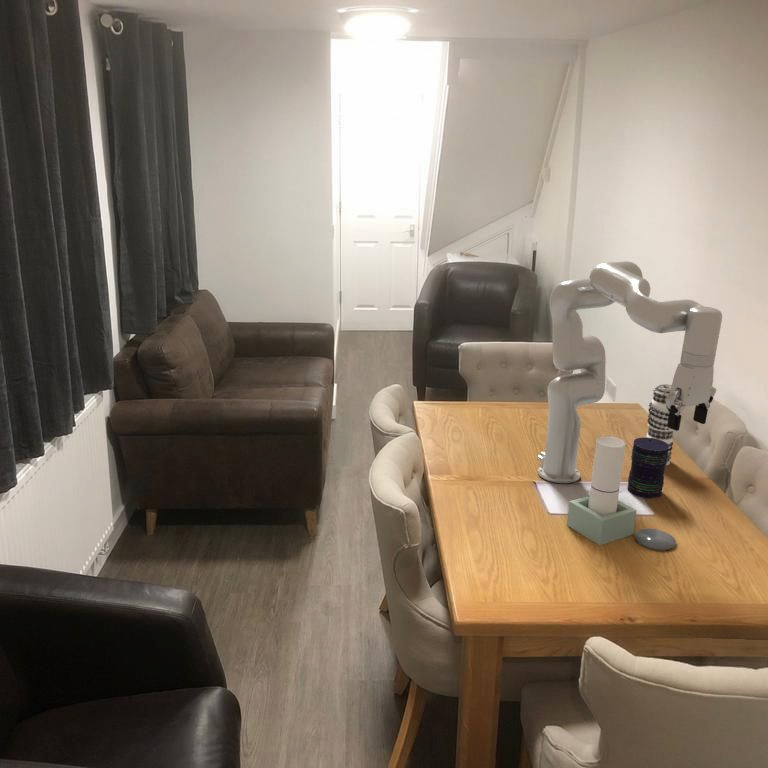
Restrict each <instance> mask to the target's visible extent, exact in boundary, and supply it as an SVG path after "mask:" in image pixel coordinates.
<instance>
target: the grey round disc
mask: <svg viewBox="0 0 768 768" xmlns="http://www.w3.org/2000/svg"><path fill="white" fill-rule="evenodd" d="M634 540H635V542H636V543H637V544H638V545H640V546H641V547H643V548H646V549H649V550H652V551H656V552H659V551H660V552H666V551H667V552H668V551H671V550H674V548H676V544H677V540H676V538H675V537H674V536H673V535H672V534H670V533H668V532H666V531H663V530H660V529H656V528H655V529H654V528H642V529H639V530H636V532H635V533H634Z"/></svg>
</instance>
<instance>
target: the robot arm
mask: <svg viewBox="0 0 768 768" xmlns="http://www.w3.org/2000/svg"><path fill="white" fill-rule="evenodd" d="M650 294H651V284H650V282H649V281H648V280H647V279H645V278H644V276H643V272H642V270H641V268H640V267H639V266H638V264H636V263H634V262H632V261H627V260H625V261H609V262H602V263H600V264H598V265H596V266H595V267H594V268H593V269H592V270H591V272H590V274H589V277H588V278H579V279H571V280H565V281H563V282H560V283H558V284H557V285H556V286H554V288H553V289H552V291H551V293H550V296H549V303H548V304H549V311H550V316H551V322H552V324H551V325H552V331H551V332H552V362H553V364H554V365H553V366H554V367H555V368H556V369H557V370H559V371H563V372H564V371H577V370H580V372H578V373H577V372H576V373H569V374H564V375H559V376H557V377H555V378H554V379H552V380H551V381H550V382H549V384H548V386H547V401H548V417H547V418H548V419H547V428H546V429H547V431H546V439H545V448H544V449H545V450H544V451H541V453H539V454H538V456H536V457H537V458H536V459H537V460H538V461H540V462H541V465H540V466H539V467H538V468H537V474H538V475H539V477H540V478H542V479H544V480H546V481H549V482H551V483H558V484H572V483H575V482H577V481H579V480H580V479H581V472H580V471H579V470H578V468H577V459H578V450H579V443H580V442H579V441H580V433H581V417H580V415H579V413H578V409H577V407H581V406H585V405H590V404H591V405H592V404H595V403H598V402H599V401H602V399H603V397H604V395H605V391H606V365H607V364H606V363H607V362H606V350H605V347H604V344H603V342H602V341H601V339H599V338H598V337H597V336H594V335H583V334H584V333H583V328H584V327H583V321H582V319H581V317H580V314H579V313H578V312H577V311H578V310H586V309H587V310H589V309H600V308H605V307H608V306H610V305H613V304H615V303H617V304H619V305H621V306H623V307H624V308H625V311H626V313H627V315H628V316H629V318H630V320H631V321H632V322H633V323H635V324H637V325H639V326H640V327H642V328H644V329H646V330H648V331H650V332H653V333H657V334H666V333H674V332H684V336H683V337H684V338H683V342H682V349H681V355H680V362H679V363H678V364H677V366H676V369H675V372H674V375H673V379H672V382H671V385H672V386H671V391H670V395H669V396H668V397H666V399H665V401H666V408H667V409H668V412H669V416H668V422H667V427H668V428H671V429H673V430H674V431H675V432H677V431H679V430H680V428H681V421H682V415H681V413H682V412H683V410H684V409H685V408H687V407H692V406H695V407H694V412H693V421H694V422H696V423H699V424H702V425H705V424H706V421H707V416H708V413H709V412H708V411H709V409H710V407H711V404H712V401H714V396H715V394H716V393H717V388H715V386H713V383H714V371H715V370H714V368H715V367H714V366H715V361H716V360H715V359H716V356H717V355H716V354H717V349H718V344H719V338H720V334H721V333H720V332H721V328H722V321H723V312H722V311H721V310H719V309H717V308H715V307H712V306H711V307H710V306H704V305H703V304H701V303H699V302H697V301H696V300H693V299H676V300H665V301H657V300H655V299H653V298H652V297H650ZM676 405H678V407H679V408H678V409H677V408H676Z"/></svg>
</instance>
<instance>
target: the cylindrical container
mask: <svg viewBox="0 0 768 768" xmlns="http://www.w3.org/2000/svg"><path fill="white" fill-rule="evenodd" d="M595 441H596V442H595V449H594V456H593V464H592V474H591V483H590V488H589V489H590V490H589V495H588V496H589V505H588V509H590V510H592V511H594V512H595V513H597V514H599V515H600V516H602V517H604V516H607V515H611V514H614V513H616V511H617V503H618V501H619V494H620V488H621V481H622V480H621V479H622V472H623V464H624V458H625V450H626V444H627V443H626V441H624V440H623V439H621V438H619V437H615V436H605V435H604V436H600V437H597V438H596V440H595Z"/></svg>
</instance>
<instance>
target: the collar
mask: <svg viewBox="0 0 768 768" xmlns="http://www.w3.org/2000/svg"><path fill="white" fill-rule="evenodd" d="M589 496H590V495H587V496H583V497H579V498H576V499H573V500H569V501H568V508H567V511H568V512H567V518H566V526H568V527H569V528H571V529H572V530H573V531H575V532H577V533H579V534H580V535H582V536H584V537H586V538H587V539H588V540H590V541H591V542H593V543H595V544H597V545H598V546H602V545H605V544H608V543H611V542H614V541H618V540H620V539H624V538H626V537H629V536H633V535H634V531H635V525H636V517H637V510H636V509H635V508H633V507H631V506H629V505H627V504H626V503H623V502H622V501H620V500H618V503H617V511H616V513H614V514H611V515H607V516H604V517H602V516H600V515H599V514H597V513H595V512H594V511H592V510H590V509H588V505H589Z"/></svg>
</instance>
